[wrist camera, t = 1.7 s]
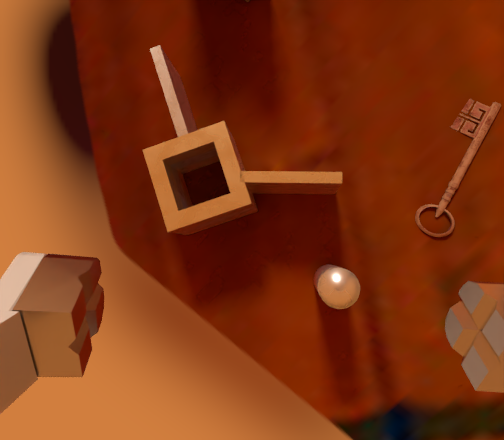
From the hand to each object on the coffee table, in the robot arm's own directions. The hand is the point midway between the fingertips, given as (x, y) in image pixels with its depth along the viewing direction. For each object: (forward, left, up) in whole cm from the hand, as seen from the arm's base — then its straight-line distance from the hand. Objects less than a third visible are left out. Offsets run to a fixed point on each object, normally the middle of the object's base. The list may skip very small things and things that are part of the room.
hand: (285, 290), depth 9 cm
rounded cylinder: (-4, +1, -34) cm, 34 cm away
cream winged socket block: (+8, -11, -34) cm, 37 cm away
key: (-14, -13, -35) cm, 39 cm away
